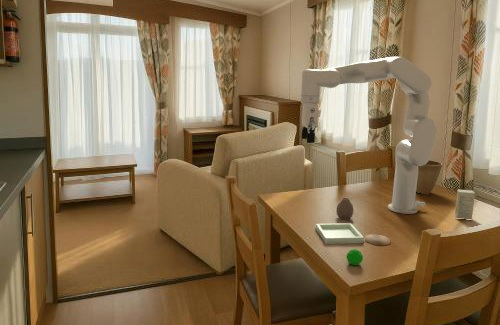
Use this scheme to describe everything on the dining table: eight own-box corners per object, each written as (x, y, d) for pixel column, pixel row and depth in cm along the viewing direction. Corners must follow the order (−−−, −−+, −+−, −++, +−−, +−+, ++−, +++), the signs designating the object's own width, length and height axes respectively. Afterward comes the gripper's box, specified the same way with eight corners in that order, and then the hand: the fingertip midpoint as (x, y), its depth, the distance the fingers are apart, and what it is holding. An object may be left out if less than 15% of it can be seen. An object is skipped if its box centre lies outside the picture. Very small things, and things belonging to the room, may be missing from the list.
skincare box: (470, 217, 177) (474, 190, 174) (471, 221, 173) (476, 193, 170) (453, 215, 179) (457, 188, 176) (454, 219, 175) (458, 191, 172)
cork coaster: (384, 235, 156) (384, 234, 156) (394, 245, 147) (394, 244, 147) (361, 235, 155) (361, 234, 155) (370, 245, 146) (370, 244, 146)
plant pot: (443, 197, 205) (447, 165, 202) (413, 196, 205) (417, 165, 202) (431, 188, 220) (434, 159, 216) (403, 187, 220) (406, 158, 216)
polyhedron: (364, 267, 130) (365, 253, 129) (349, 268, 129) (350, 254, 128) (358, 260, 135) (359, 246, 134) (344, 260, 134) (345, 247, 133)
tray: (350, 228, 162) (351, 223, 161) (363, 242, 148) (363, 237, 148) (315, 228, 161) (316, 223, 160) (325, 243, 147) (325, 238, 147)
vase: (353, 222, 169) (354, 201, 167) (335, 220, 170) (337, 200, 168) (352, 216, 175) (354, 196, 173) (335, 214, 177) (337, 195, 175)
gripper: (324, 101, 162) (321, 144, 166) (313, 98, 179) (311, 137, 183) (305, 101, 162) (303, 144, 165) (296, 98, 178) (295, 137, 182)
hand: (307, 140), depth 174 cm, fingers open, 9 cm apart
